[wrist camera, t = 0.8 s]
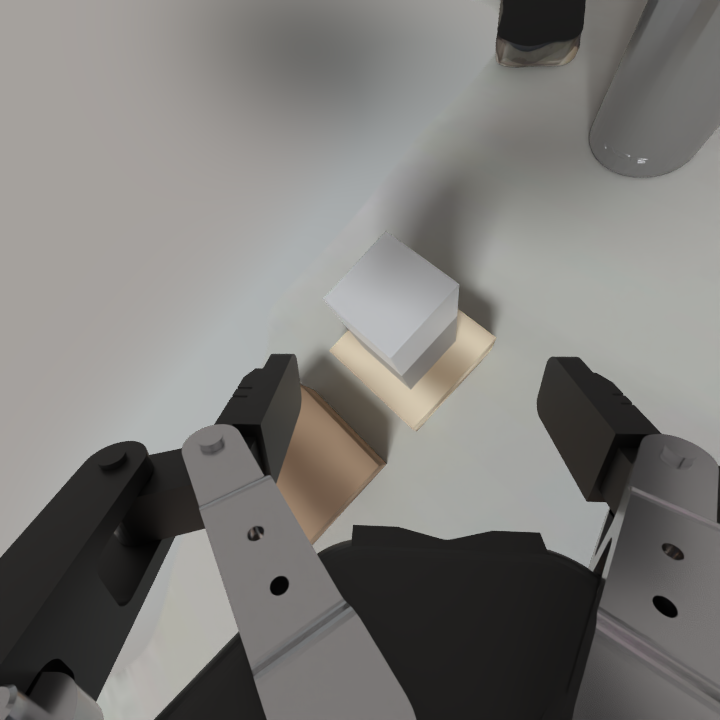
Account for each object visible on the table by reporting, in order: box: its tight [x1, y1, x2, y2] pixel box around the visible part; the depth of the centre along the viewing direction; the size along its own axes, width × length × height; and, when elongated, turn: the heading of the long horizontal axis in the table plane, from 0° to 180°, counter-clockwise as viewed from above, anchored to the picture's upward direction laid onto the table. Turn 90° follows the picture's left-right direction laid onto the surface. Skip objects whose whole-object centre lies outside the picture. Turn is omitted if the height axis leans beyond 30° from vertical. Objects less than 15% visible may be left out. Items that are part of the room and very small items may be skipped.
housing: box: [323, 231, 459, 390], centre depth 26 cm, size 6×6×11 cm
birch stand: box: [329, 309, 496, 431], centre depth 33 cm, size 10×10×4 cm
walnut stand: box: [276, 384, 386, 545], centre depth 33 cm, size 10×10×4 cm
